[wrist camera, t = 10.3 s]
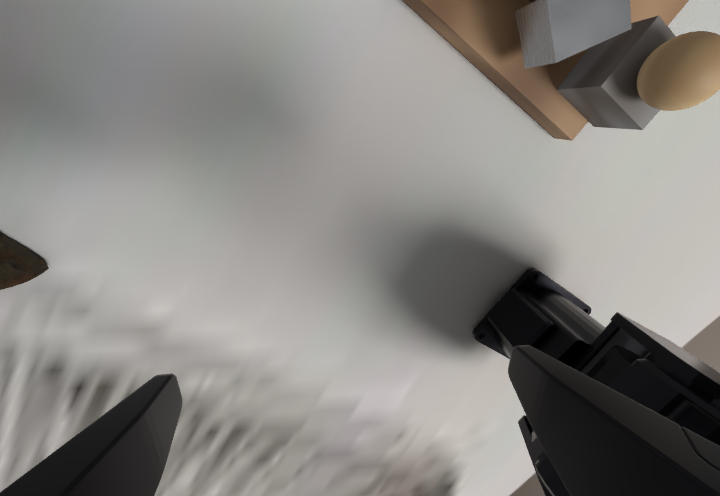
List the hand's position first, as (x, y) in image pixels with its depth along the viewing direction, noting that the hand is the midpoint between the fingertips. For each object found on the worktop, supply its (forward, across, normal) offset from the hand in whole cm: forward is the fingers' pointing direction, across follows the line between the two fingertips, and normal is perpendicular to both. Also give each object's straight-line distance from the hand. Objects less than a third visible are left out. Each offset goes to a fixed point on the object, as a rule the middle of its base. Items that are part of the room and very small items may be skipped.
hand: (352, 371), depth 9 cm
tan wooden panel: (+12, -10, -18) cm, 24 cm away
